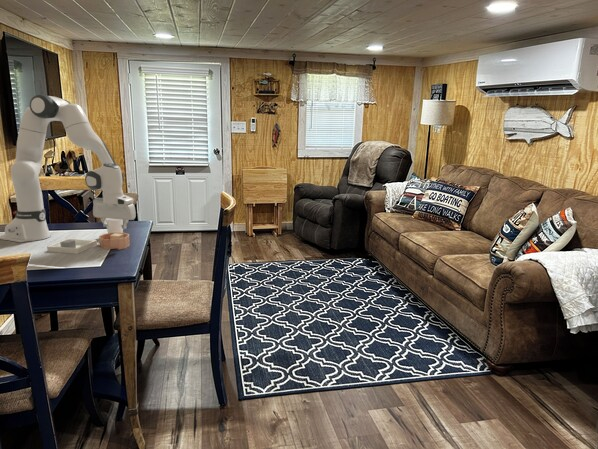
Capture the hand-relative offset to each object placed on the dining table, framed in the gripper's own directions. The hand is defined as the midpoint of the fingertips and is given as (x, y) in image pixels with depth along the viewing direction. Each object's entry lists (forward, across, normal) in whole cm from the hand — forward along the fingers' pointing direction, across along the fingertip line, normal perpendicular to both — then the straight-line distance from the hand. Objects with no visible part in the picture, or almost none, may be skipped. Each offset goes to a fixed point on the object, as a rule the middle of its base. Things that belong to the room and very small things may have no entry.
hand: (115, 227), depth 212 cm
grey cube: (+8, -14, -14) cm, 22 cm away
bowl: (+9, 0, -2) cm, 9 cm away
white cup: (+9, -8, +12) cm, 17 cm away
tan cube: (+8, 0, +1) cm, 8 cm away
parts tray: (+9, -14, -11) cm, 20 cm away
